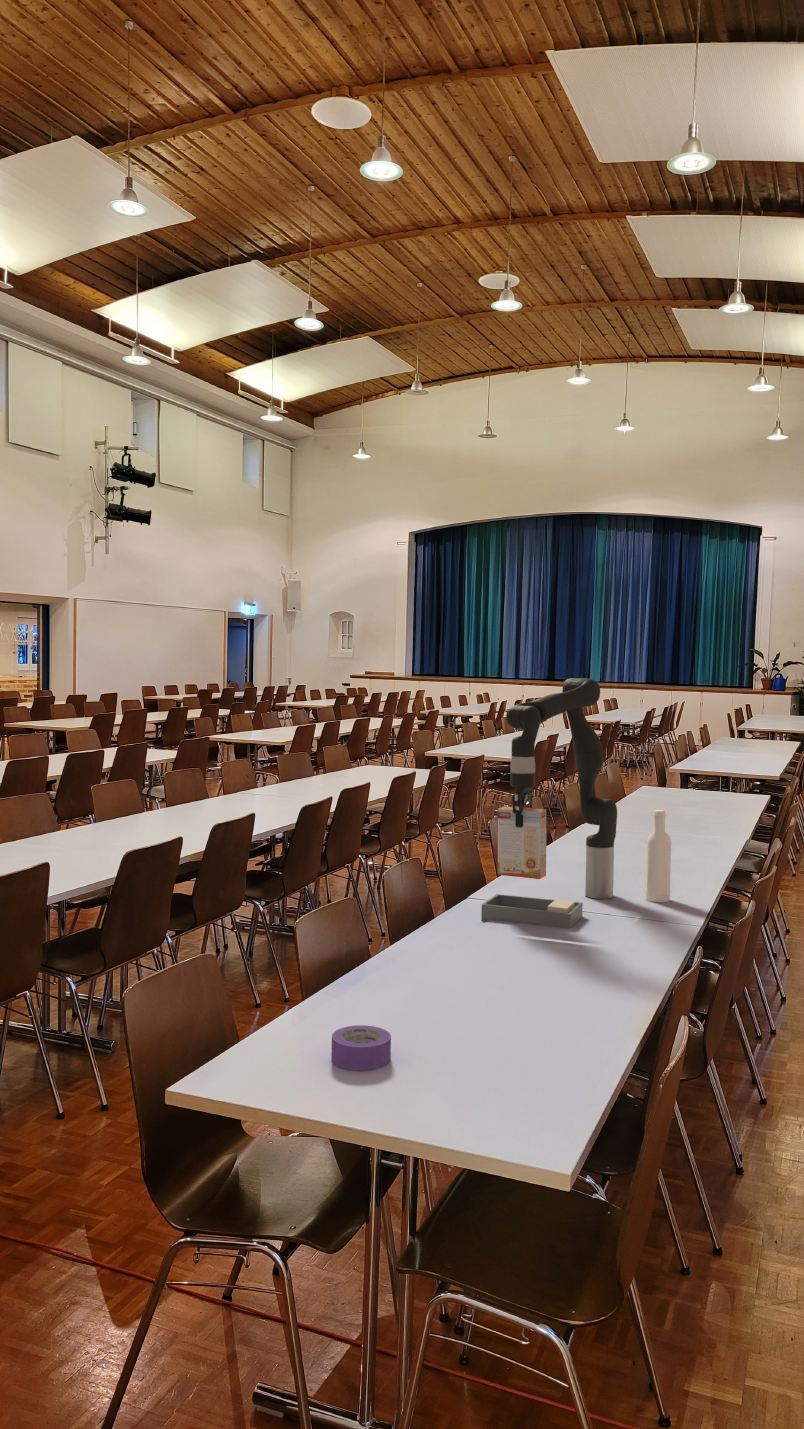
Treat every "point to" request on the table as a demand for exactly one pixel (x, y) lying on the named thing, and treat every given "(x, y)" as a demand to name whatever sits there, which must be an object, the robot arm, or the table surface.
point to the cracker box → (522, 843)
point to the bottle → (658, 861)
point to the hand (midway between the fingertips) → (522, 825)
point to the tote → (528, 911)
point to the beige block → (561, 906)
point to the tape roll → (361, 1048)
